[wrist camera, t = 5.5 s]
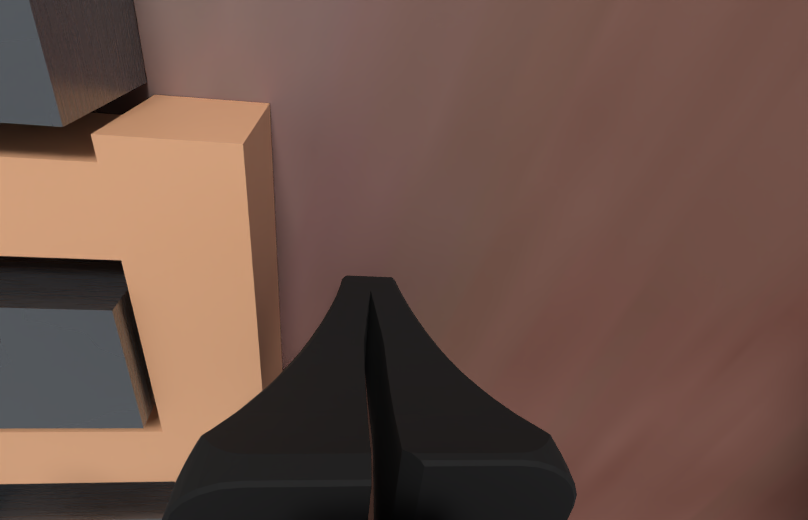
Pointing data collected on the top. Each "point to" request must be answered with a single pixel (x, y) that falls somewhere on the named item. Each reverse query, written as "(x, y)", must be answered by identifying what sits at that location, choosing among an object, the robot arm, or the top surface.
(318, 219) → the top surface
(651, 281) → the top surface
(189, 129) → the clip
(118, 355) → the grey hollow block
